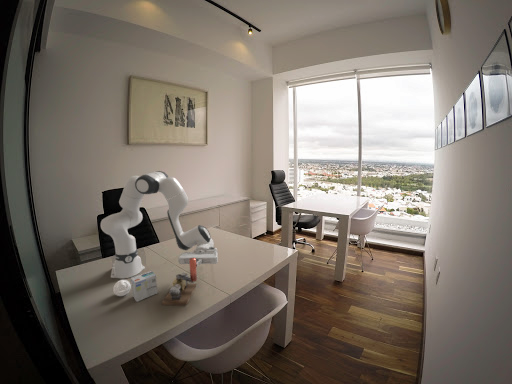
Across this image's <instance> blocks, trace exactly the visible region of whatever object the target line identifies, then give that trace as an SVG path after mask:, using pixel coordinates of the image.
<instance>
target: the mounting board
mask: <svg viewBox="0 0 512 384" xmlns="http://www.w3.org/2000/svg"><path fill="white" fill-rule="evenodd" d="M196 288H197V284H196V283H188V286H187V288H184V290H183V291H181V298H180V300H172V299H171V295H170V293H169V292H168V293H167V294H166V295H165V297H164V299H163V300H162V301H161V305H162V306H187V305H188V304H189V301H190V299H191V297H192V295H193V294H194V291H195V290H196Z"/></svg>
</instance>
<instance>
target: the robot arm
mask: <svg viewBox="0 0 512 384" xmlns="http://www.w3.org/2000/svg"><path fill="white" fill-rule="evenodd" d="M158 192H159V193H161V194H162V195H163V196H164V198H165V199H166V202H167V204H168V209H167V212H166V213H167V217H168V220H169V223H170V226H171V229H172V231H173V234H174V236H175V242H176V245H177V247H178V248H179V249H180V250H183V251H185V252H182V253H181V254H180V255H179V256H178V259H177V260H178V264H179V265H190V262H189V259H190V258H196V268H197V267H199V266H200V265H216V264H218V261H219V257H218V248H217V247H214V245H215V243H214V240H213V239H212V237H211V233H210V231H209V230H208V228H207V227H205V226H203V225H200V224H199V225H197V226H195V227H192V228H191V229H189V230H187V231H183V227H182V225H181V222H180V219H179V218H180V215H181V214H182V212H184V211H185V210H186V208H187V206H188V205H189V197H188V195H187V193H186V191H185V189H184V188H183V186H182V185H181V183H180V181H178V179H177V178H176V177H173V176H169V175H168V174H167V173H166V172H165V171H162V170H161V171H160V170H157V171H156V170H155V171H151V172H148V173H146V174H142V175H132V176H130V177H129V178H128V179H127V181H126V183H125V185H124V186H123V190H122V193H121V195H120V198H119V201H118V203H119V206H120V207H121V208H122V209H121V211H120V212H117V213H112V214H110V215H109V214H108V216H106V217H104V218H103V219H101V221H100V229H101V230H102V232H103V233H104V234H106V235H108V236H110V237H111V238H112V240H113V243H114V250H115V254H114V258H115V260H114V262H112V263H111V267H112V268H111V272H110V278H111V279H129V278H132V277H135V276H138V275H139V274H140V273H141V272H142V271H143V270H144V269H146V268H145V266H144V265H143V264H142V259H141V257H140V256H139V255H138V253H139V251H138V249H137V243H136V238H135V236H133V235H132V234H129V232H128V230H129V229H131V228H134V227H136V226H138V225H139V224H141V222H142V221H143V218H144V217H143V213H142V212H141V211H140V208H141V207H140V206H141V204H142V202H143V198H144V197H145V195H152V194H157V193H158ZM195 246H196V247H195ZM193 247H195V248H194V250H193V251H188V250H189V249H192V248H193ZM187 251H188V252H187Z"/></svg>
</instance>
